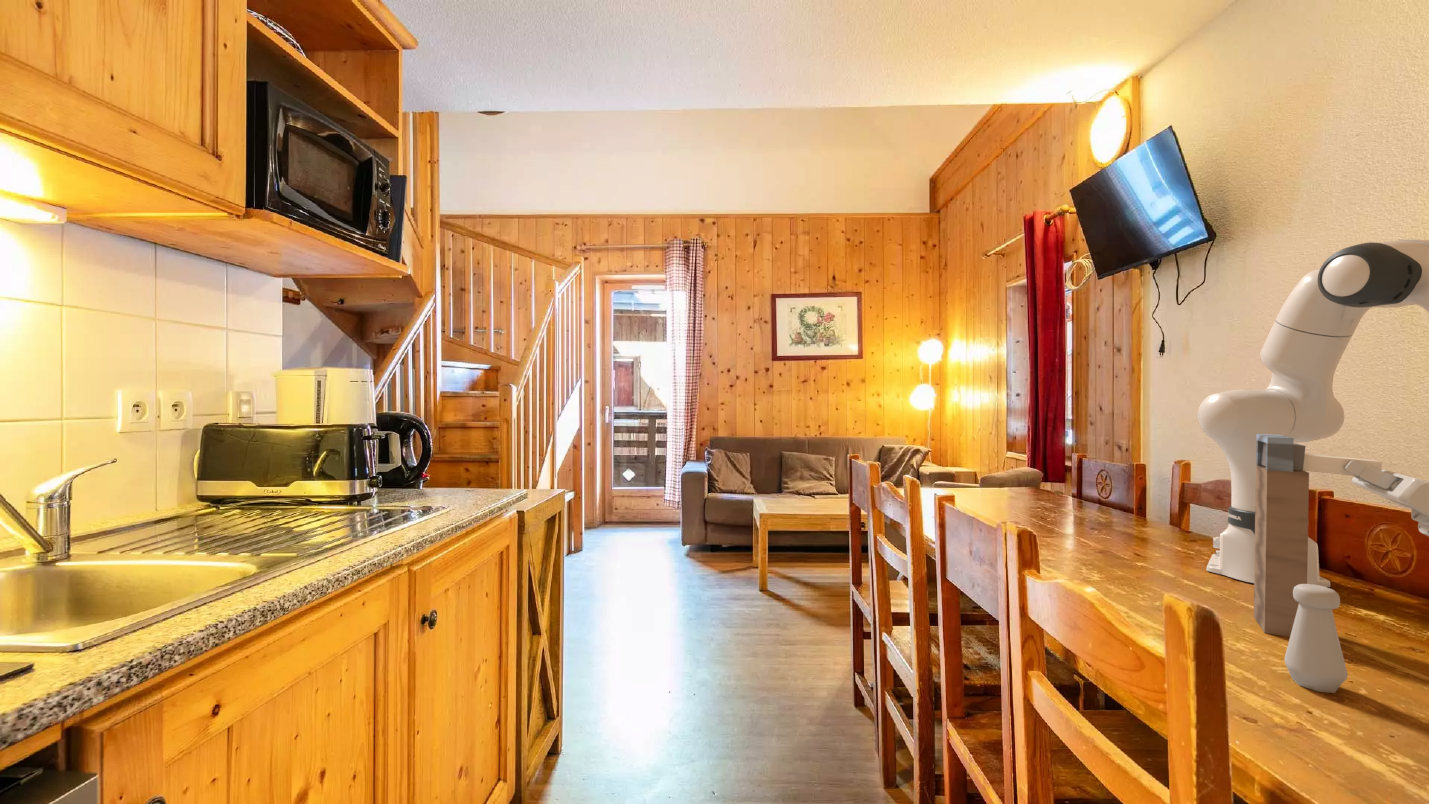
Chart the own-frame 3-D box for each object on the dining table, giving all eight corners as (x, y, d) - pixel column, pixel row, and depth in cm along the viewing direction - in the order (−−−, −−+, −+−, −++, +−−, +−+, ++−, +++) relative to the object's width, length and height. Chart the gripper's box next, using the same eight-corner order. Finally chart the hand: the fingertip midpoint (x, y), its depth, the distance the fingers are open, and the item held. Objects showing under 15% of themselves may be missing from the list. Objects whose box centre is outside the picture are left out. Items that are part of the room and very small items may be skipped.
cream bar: (1261, 464, 99) (1263, 440, 99) (1370, 475, 92) (1373, 449, 92) (1268, 467, 95) (1271, 443, 95) (1383, 479, 88) (1386, 452, 88)
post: (1253, 616, 101) (1256, 434, 100) (1292, 622, 98) (1295, 435, 98) (1264, 632, 94) (1267, 437, 94) (1306, 639, 92) (1309, 438, 91)
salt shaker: (1360, 698, 74) (1362, 595, 74) (1306, 694, 75) (1308, 592, 75) (1322, 676, 80) (1324, 581, 80) (1273, 672, 81) (1274, 578, 81)
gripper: (1440, 488, 93) (1334, 441, 100) (1517, 509, 76) (1383, 451, 83) (1410, 520, 95) (1308, 471, 102) (1478, 548, 78) (1350, 488, 84)
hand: (1342, 462), depth 92 cm, fingers closed on cream bar, 3 cm apart
